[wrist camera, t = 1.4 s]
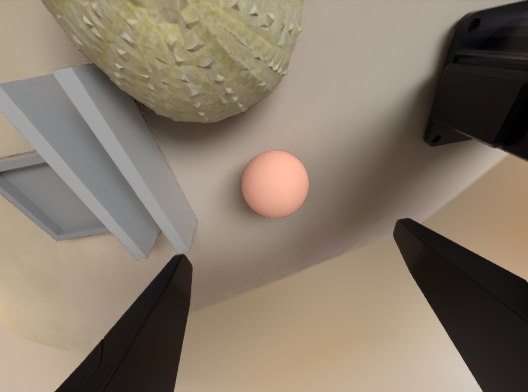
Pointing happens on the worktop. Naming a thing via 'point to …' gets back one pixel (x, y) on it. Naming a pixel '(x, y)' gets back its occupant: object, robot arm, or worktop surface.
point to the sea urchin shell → (186, 50)
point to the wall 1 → (78, 158)
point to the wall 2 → (131, 148)
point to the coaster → (46, 197)
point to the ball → (275, 184)
